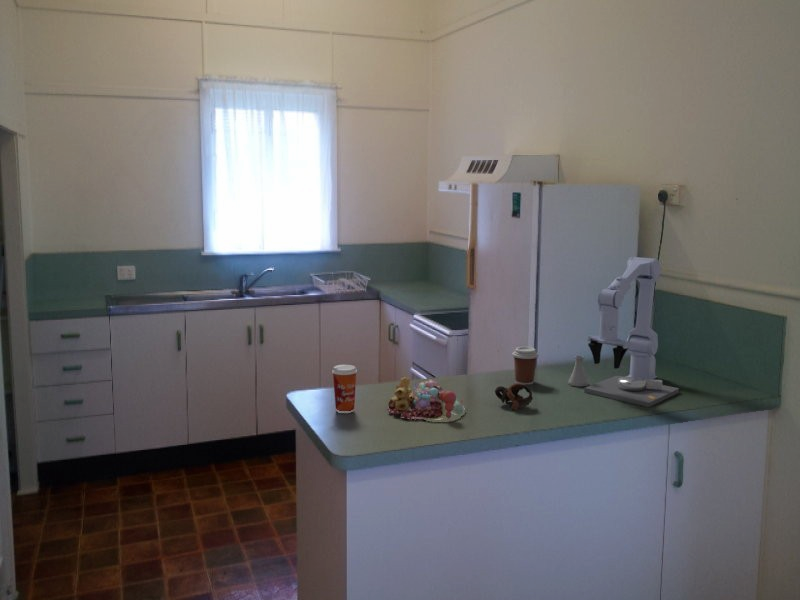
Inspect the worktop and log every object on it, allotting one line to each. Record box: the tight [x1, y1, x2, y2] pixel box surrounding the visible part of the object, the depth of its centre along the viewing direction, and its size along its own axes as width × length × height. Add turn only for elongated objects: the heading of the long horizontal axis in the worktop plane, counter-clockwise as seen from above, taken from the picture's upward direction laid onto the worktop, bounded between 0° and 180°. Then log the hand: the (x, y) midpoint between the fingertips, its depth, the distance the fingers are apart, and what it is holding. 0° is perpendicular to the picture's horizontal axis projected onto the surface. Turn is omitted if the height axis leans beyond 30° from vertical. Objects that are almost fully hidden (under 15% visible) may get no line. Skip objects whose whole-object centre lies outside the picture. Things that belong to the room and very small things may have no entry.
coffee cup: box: [511, 346, 540, 386], centre depth 267 cm, size 9×9×12 cm
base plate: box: [584, 375, 680, 408], centre depth 256 cm, size 22×23×2 cm
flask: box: [567, 355, 590, 387], centre depth 264 cm, size 7×7×10 cm
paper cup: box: [331, 364, 358, 411], centre depth 234 cm, size 8×8×14 cm
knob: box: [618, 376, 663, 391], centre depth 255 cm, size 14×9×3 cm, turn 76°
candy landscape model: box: [387, 376, 466, 420], centre depth 236 cm, size 25×24×9 cm
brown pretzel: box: [494, 383, 534, 411], centre depth 240 cm, size 12×10×8 cm
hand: (606, 365), depth 252 cm, fingers open, 7 cm apart
